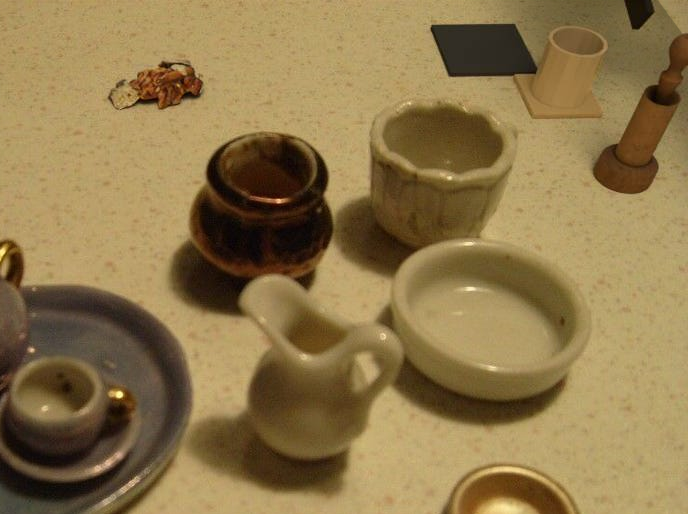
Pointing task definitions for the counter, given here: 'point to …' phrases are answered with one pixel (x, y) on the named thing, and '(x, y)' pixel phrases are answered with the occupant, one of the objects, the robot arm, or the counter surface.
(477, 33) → the slate mat
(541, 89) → the cream cup
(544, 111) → the cream mat
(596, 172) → the mortar and pestle
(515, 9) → the counter surface
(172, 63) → the pastry
